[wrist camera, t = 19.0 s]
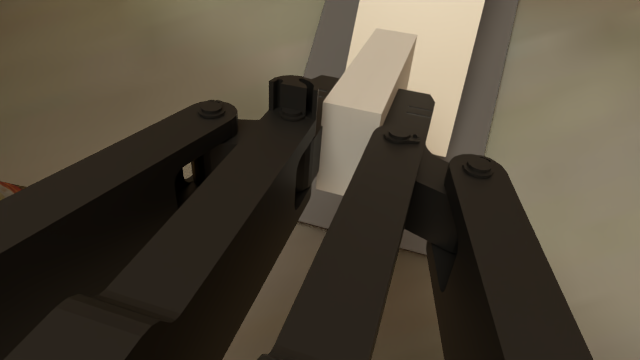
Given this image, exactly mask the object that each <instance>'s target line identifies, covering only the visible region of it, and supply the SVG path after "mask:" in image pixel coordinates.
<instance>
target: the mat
mask: <svg viewBox="0 0 640 360" xmlns="http://www.w3.org/2000/svg"><path fill="white" fill-rule="evenodd" d="M359 1H360V0H325V3H324V7H323V10H322V14H321V17H320V21H319V24H318V28H317V31H316V34H315V38H314V41H313V45H312V48H311V52H310V55H309V59H308V62H307V66H306V69H305V72H304V76H303V77H306V78H309V79H313V78H315V77H318V76H320V75H325V76H331V77H336V78H341V76H342V75H343V74H344V72H345V70H346V65H347V60H348V55H349V50H350V45H351V40H352V35H353V30H354V25H355V20H356V16H357V11H358V6H359ZM518 1H519V0H485V3H484V7H483V11H482V15H481V19H480V23H479V27H478V31H477V35H476V39H475V43H474V47H473V51H472V55H471V59H470V63H469V67H468V71H467V75H466V78H465V82H464V86H463V90H462V94H461V98H460V102H459V106H458V110H457V114H456V118H455V122H454V126H453V130H452V134H451V138H450V142H449V146H448V150H447V154H446V157H443V156H438V155H435V156H436V157H438V158H440V159H442V160H444V161H446V162H448V163H449V162H450V160H451V159H452V158H453V157H454V156H458V155H461V154H475V155H482V156H484V153H485V149H486V144H487V140H488V135H489V131H490V126H491V122H492V117H493V113H494V108H495V104H496V99H497V95H498V90H499V86H500V82H501V77H502V73H503V68H504V64H505V59H506V55H507V50H508V46H509V41H510V37H511V32H512V28H513V23H514V19H515V14H516V10H517V5H518ZM433 155H434V154H433ZM316 181H317V175H316V177H315V179H314V180H313V182H312V188H311V197H310V200H309V202H308V204H307V205H306V207H305V209H304V211H303V213H302V215H301V216H300V218H299V220H298V221H299V222H303V223H307V224H311V225H314V226H318V227H322V228H326V229H328V228H329V226H330V224H331V222H332V220H333V217H334V215H335V213H336V211H337V209H338V207H339V204H340V202H341V200H342V198H343V196H342V195H338V194H334V193H330V192H326V191H322V190H318V189H316ZM426 244H427V240H425V239H423V238H421V237H419V236H417V235H415V234H413V233H411V232H409V231H407V230H406V229H404V233H403V237H402V241H401V244H400V248H401V249H405V250H409V251H413V252H416V253H420V254H424V255H427V253H426Z"/></svg>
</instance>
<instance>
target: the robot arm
mask: <svg viewBox="0 0 640 360" xmlns="http://www.w3.org/2000/svg"><path fill="white" fill-rule="evenodd" d="M416 40H417V35H415V34H409V33H403V32H397V31H391V30H385V29H379V28H376V29H375V31H374V32H373V34H372V35H371V36H370V38H369V39H368V40H367V42H366V43H365V45H364V46H363V47H362V49H361V50H360V52H359V53H358V54H357V56H356V57H355V58H354V60H353V61H352V63H351V64H350V65H349V67H348V68H347V69H346V71H345V72H344V74H343V75H342V76H341V78H336V77H331V76H325V75H320V76H318V77H315V78H313V79H309V78H306V77H302V76H294V75H289V76H280V77H276V78H273V79H272V80H270V81H269V110H268V111H267V113H266V114H265V115H264V116H263V117H262V118H261V119H260V120H240V119H238V115H237V109H236V108H235V106H233V105H231V104H229V103H226V102H222V101H219V100H216V101H215V100H208V101H204V102H199V103H196V104H193V105H191V106H189V107H187V108H185V109H183V110H181V111H179V112H177V113H175V114H173V115H171V116H169V117H167V118H165V119H163V120H161V121H159V122H157V123H155V124H153V125H151V126H149V127H147V128H145V129H143V130H141V131H139V132H137V133H135V134H133V135H131V136H129V137H127V138H125V139H123V140H121V141H119V142H117V143H115V144H113V145H111V146H109V147H107V148H105V149H103V150H101V151H99V152H97V153H95V154H93V155H91V156H89V157H87V158H85V159H83V160H81V161H79V162H77V163H75V164H73V165H71V166H69V167H67V168H65V169H63V170H61V171H59V172H57V173H55V174H53V175H51V176H49V177H47V178H45V179H43V180H41V181H39V182H36V183H34V184H32V185H30V186H28V187H26V188H24V189H22V190H20V191H18V192H16V193H14V194H12V195H10V196H8V197H6V198H4V199H2V200H0V360H222V359H223V357H224V355H225V353H226V352H227V350H228V348H229V346H230V344H231V342H232V341H233V339H234V337H235V335H236V333H237V331H238V330H239V328H240V326H241V324H242V322H243V321H244V319H245V317H246V315H247V313H248V311H249V310H250V308H251V306H252V304H253V302H254V300H255V299H256V297H257V295H258V293H259V291H260V289H261V288H262V286H263V284H264V282H265V280H266V279H267V277H268V275H269V273H270V271H271V269H272V268H273V266H274V264H275V262H276V260H277V258H278V257H279V255H280V253H281V251H282V249H283V247H284V246H285V244H286V242H287V240H288V238H289V237H290V235H291V233H292V231H293V229H294V227H295V226H296V224H297V222H298V220H299V218H300V216H301V215H302V213H303V211H304V209H305V207H306V205H307V204H308V202H309V200H310V197H311V188H312V182H313V180H314V179H315V177H316V175H317V181H316V189H318V190H322V191H326V192H330V193H334V194H338V195H342V196H343V198H342V200H341V202H340V204H339V207H338V209H337V211H336V213H335V215H334V217H333V220H332V222H331V224H330V226H329V228H328V230H327V233H326V235H325V237H324V239H323V241H322V243H321V246H320V248H319V250H318V252H317V254H316V256H315V258H314V261H313V263H312V265H311V267H310V269H309V271H308V274H307V276H306V278H305V280H304V282H303V284H302V287H301V289H300V291H299V293H298V295H297V297H296V300H295V302H294V304H293V306H292V308H291V310H290V313H289V315H288V317H287V319H286V321H285V323H284V325H283V328H282V330H281V332H280V334H279V336H278V338H277V341H276V343H275V345H274V347H273V349H272V350H271V352H270V353H269V354H268V355H267V354H262V355H261V356H260V357H259V358H258V359H257V360H371V358H372V354H373V350H374V346H375V342H376V338H377V334H378V330H379V326H380V322H381V319H382V315H383V311H384V307H385V303H386V299H387V295H388V291H389V287H390V283H391V279H392V275H393V271H394V267H395V263H396V260H397V256H398V252H399V248H400V244H401V241H402V237H403V233H404V229H406V230H407V231H409V232H411V233H413V234H415V235H417V236H419V237H421V238H423V239H425V240H427V244H426V253H427V259H428V265H429V271H430V276H431V282H432V288H433V294H434V300H435V306H436V312H437V318H438V324H439V330H440V336H441V342H442V347H443V353H444V359H445V360H593V358H592V356H591V354H590V351H589V349H588V347H587V345H586V343H585V341H584V338H583V336H582V334H581V332H580V330H579V328H578V325H577V323H576V321H575V319H574V317H573V315H572V312H571V310H570V308H569V306H568V304H567V302H566V299H565V297H564V295H563V293H562V291H561V289H560V286H559V284H558V282H557V280H556V278H555V276H554V273H553V271H552V269H551V267H550V265H549V263H548V261H547V258H546V256H545V254H544V252H543V250H542V248H541V245H540V243H539V241H538V239H537V237H536V235H535V232H534V230H533V228H532V226H531V224H530V222H529V219H528V217H527V215H526V213H525V211H524V209H523V206H522V204H521V202H520V200H519V198H518V196H517V193H516V191H515V189H514V187H513V185H512V183H511V180H510V178H509V176H508V174H507V172H506V171H505V169H504V168H503V167H502V166H501V165H500V164H498V163H497V162H495V161H494V160H492V159H490V158H488V157H485V156H482V155H475V154H461V155H458V156H454V157H453V158H452V159H451V160H450V162H449V163H448V162H446V161H444V160H442V159H440V158H438V157H436V156H435V155H433V154H432V153H431V152H430V151H429V150H428V149H427V146H426V139H427V135H428V131H429V127H430V123H431V118H432V114H433V110H434V106H435V101H434V100H433V98H432V96H431V95H430V94H425V93H420V92H415V91H410V90H407V86H408V81H409V76H410V71H411V66H412V61H413V56H414V50H415V45H416ZM190 162H191V165H192V173H193V175H192V176H191V177H189V178H187V179H184V177H183V169H182V168H183V167H184V166H185V165H187V164H188V163H190Z"/></svg>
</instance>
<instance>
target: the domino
mask: <svg viewBox="0 0 640 360" xmlns="http://www.w3.org/2000/svg"><path fill="white" fill-rule="evenodd" d="M484 3H485V0H360V1H359V6H358V11H357V16H356V20H355V25H354V30H353V35H352V40H351V45H350V50H349V55H348V60H347V65H346V69H347V68H348V67H349V65H350V64H351V63H352V61H353V60H354V58H355V57H356V56H357V54H358V53H359V52H360V50H361V49H362V47H363V46H364V45H365V43H366V42H367V40H368V39H369V38H370V36H371V35H372V34H373V32H374V31H375V29H376V28H379V29H385V30H391V31H397V32H403V33H409V34H415V35H417V40H416V45H415V50H414V56H413V61H412V66H411V71H410V76H409V81H408V86H407V90H410V91H415V92H420V93H425V94H430V95H431V96H432V98H433V100H434V101H435V106H434V110H433V114H432V118H431V123H430V127H429V131H428V135H427V139H426V146H427V149H428V150H429V151H430V152H431V153H432V154H434V155H438V156H443V157H446V154H447V150H448V146H449V142H450V138H451V134H452V130H453V126H454V122H455V118H456V114H457V110H458V106H459V102H460V98H461V94H462V90H463V86H464V82H465V78H466V75H467V71H468V67H469V63H470V59H471V55H472V51H473V47H474V43H475V39H476V35H477V31H478V27H479V23H480V19H481V15H482V11H483V7H484ZM345 71H346V70H345Z"/></svg>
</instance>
